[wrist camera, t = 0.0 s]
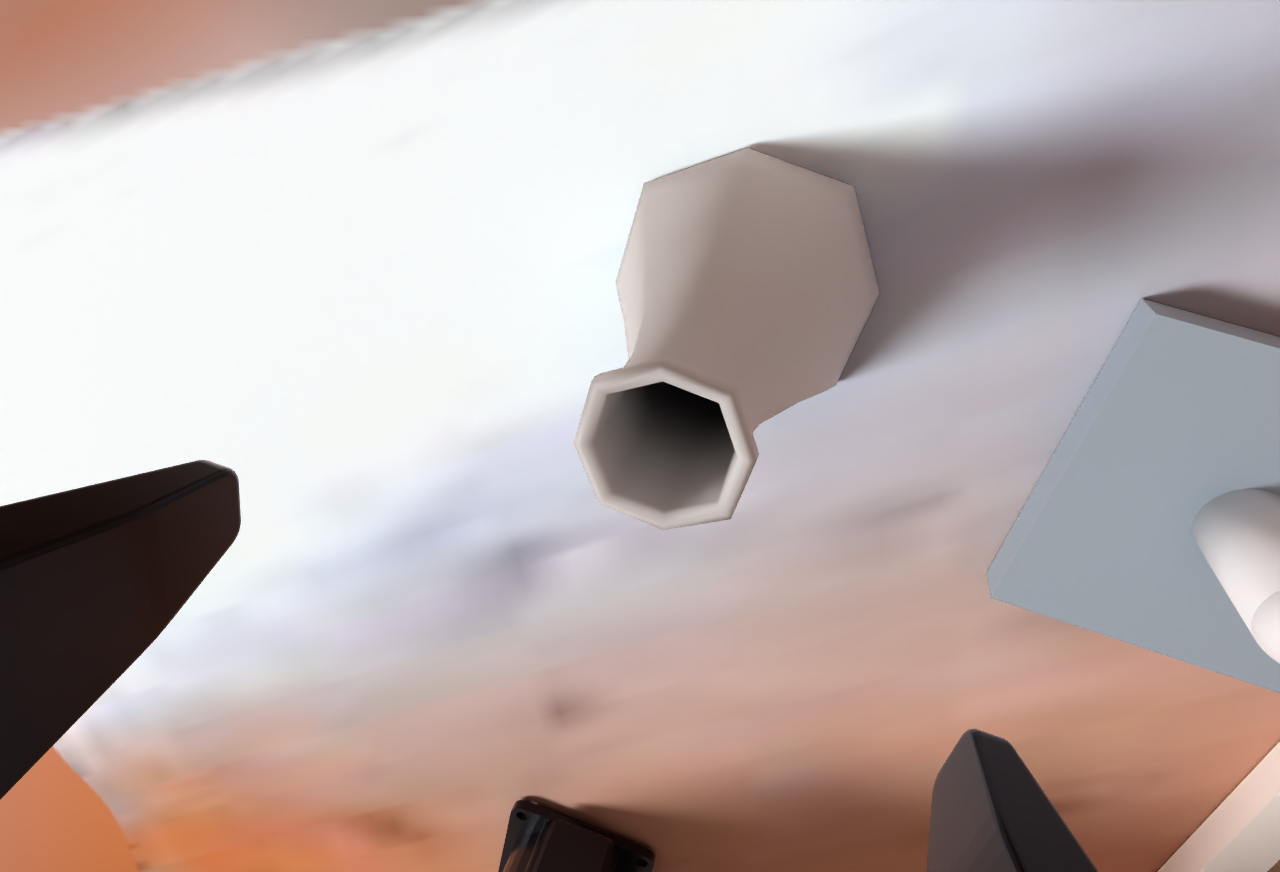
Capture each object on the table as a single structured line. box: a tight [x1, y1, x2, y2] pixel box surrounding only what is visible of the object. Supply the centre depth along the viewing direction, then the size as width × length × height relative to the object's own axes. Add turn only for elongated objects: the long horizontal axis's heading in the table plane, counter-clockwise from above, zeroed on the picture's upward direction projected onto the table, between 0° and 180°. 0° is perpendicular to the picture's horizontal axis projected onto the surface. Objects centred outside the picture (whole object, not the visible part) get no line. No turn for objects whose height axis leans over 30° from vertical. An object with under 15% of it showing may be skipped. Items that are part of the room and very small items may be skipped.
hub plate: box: [986, 299, 1280, 693], centre depth 19 cm, size 9×9×6 cm
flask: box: [574, 148, 880, 530], centre depth 18 cm, size 7×7×10 cm
